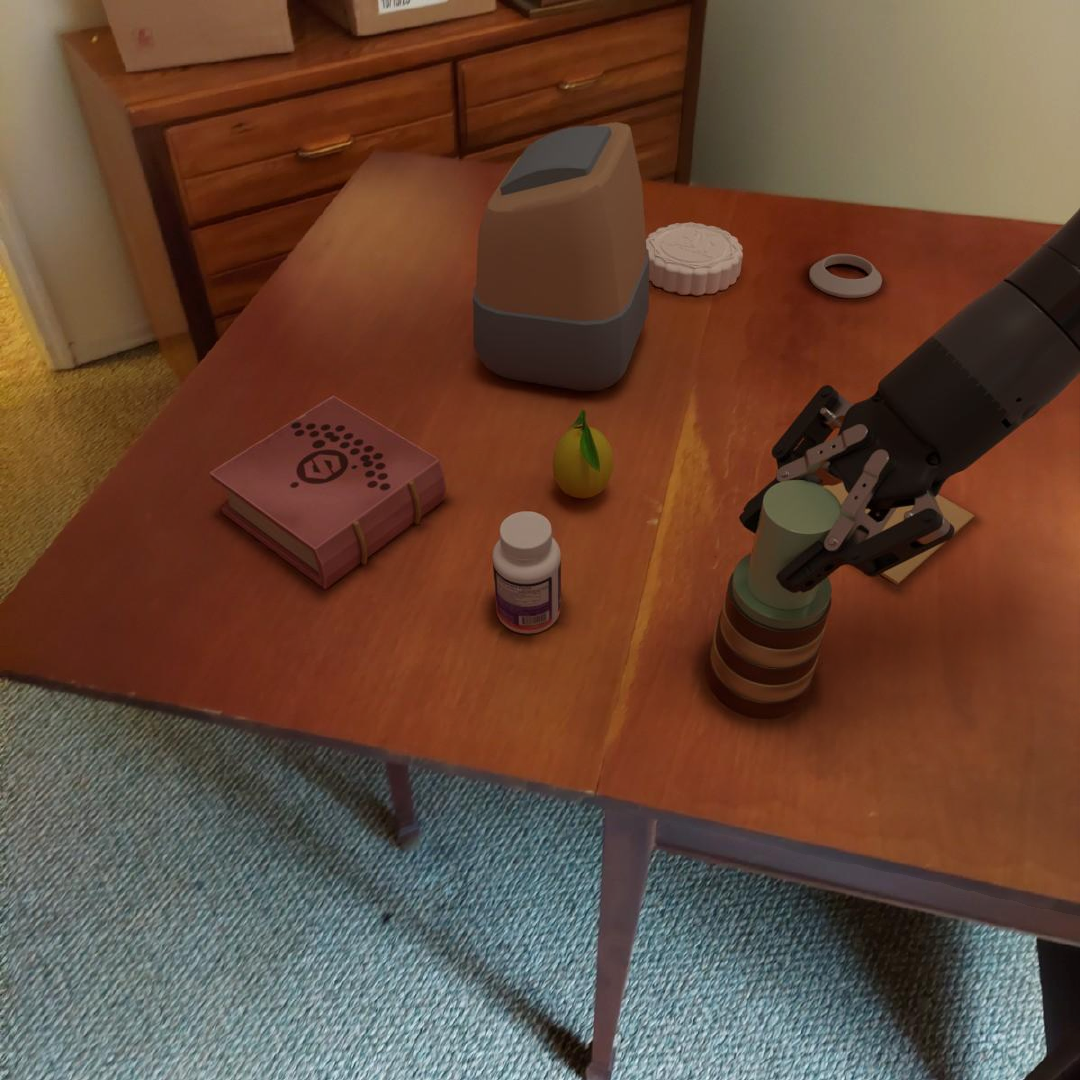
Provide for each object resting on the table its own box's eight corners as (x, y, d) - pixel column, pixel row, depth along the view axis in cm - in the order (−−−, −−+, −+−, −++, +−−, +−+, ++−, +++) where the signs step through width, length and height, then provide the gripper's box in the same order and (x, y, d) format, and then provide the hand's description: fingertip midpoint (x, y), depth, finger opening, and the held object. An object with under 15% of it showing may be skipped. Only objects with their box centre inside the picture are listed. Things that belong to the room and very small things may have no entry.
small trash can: (512, 300, 112) (505, 98, 95) (652, 321, 109) (670, 115, 92) (465, 384, 101) (448, 171, 84) (620, 410, 98) (634, 194, 81)
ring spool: (848, 594, 67) (878, 508, 61) (787, 646, 64) (812, 560, 58) (772, 542, 71) (792, 456, 65) (711, 589, 68) (727, 503, 62)
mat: (973, 518, 87) (974, 515, 86) (897, 585, 81) (898, 582, 81) (861, 453, 93) (862, 450, 92) (784, 512, 87) (784, 509, 87)
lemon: (597, 527, 86) (601, 443, 79) (539, 507, 88) (537, 423, 81) (626, 482, 90) (632, 398, 83) (570, 464, 92) (572, 380, 85)
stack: (830, 677, 75) (860, 594, 67) (765, 737, 71) (789, 656, 64) (750, 618, 79) (770, 534, 71) (685, 672, 75) (699, 589, 68)
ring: (871, 261, 117) (875, 248, 116) (888, 299, 112) (892, 285, 110) (803, 261, 117) (805, 248, 116) (816, 299, 112) (819, 285, 110)
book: (332, 594, 81) (321, 554, 77) (223, 512, 88) (209, 472, 84) (450, 504, 88) (446, 463, 85) (341, 435, 95) (333, 395, 92)
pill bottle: (518, 577, 82) (514, 495, 75) (572, 601, 80) (574, 519, 73) (483, 619, 79) (476, 538, 72) (539, 645, 77) (537, 565, 70)
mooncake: (756, 262, 117) (760, 235, 115) (712, 307, 111) (716, 280, 108) (669, 235, 122) (672, 209, 119) (622, 278, 115) (624, 251, 113)
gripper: (888, 284, 60) (690, 465, 66) (1032, 423, 50) (785, 619, 57) (937, 341, 65) (749, 504, 71) (1077, 477, 55) (845, 652, 62)
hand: (766, 555), depth 64 cm, fingers closed on ring spool, 5 cm apart
